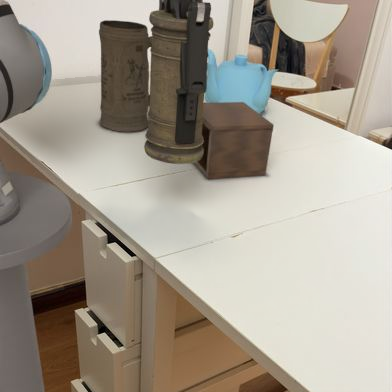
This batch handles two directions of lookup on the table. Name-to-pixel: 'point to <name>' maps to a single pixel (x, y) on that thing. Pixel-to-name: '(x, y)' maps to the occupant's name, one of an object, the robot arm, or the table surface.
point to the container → (169, 93)
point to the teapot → (238, 82)
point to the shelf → (234, 141)
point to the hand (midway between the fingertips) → (175, 131)
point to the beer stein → (124, 75)
